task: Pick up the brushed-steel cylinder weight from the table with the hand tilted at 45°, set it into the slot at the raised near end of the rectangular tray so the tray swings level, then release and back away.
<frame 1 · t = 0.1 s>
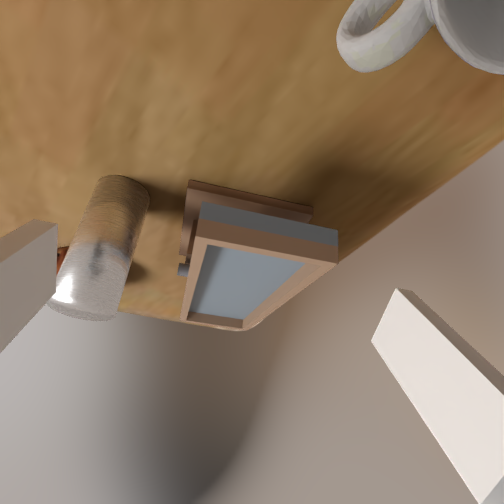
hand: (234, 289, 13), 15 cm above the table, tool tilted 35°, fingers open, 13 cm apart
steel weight: (123, 193, 32), on the table
fulcrum: (239, 229, 35), on the table
rectangular tray: (233, 287, 32), point 7 cm above the table, hinge at 8.0°
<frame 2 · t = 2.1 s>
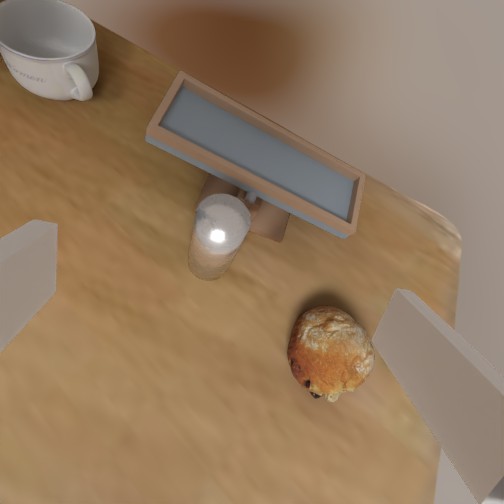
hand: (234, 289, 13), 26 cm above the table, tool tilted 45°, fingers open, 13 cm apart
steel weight: (208, 261, 40), on the table
bread roll: (322, 353, 40), on the table
teacup: (67, 91, 44), on the table
fulcrum: (250, 190, 45), on the table
rectangular tray: (265, 161, 39), point 7 cm above the table, hinge at 8.0°
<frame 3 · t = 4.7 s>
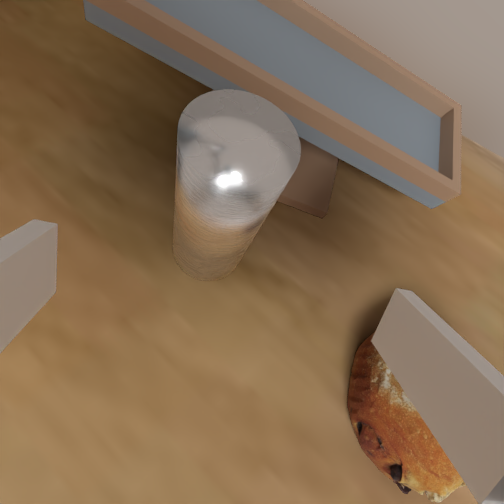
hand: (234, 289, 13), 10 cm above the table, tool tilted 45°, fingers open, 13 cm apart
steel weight: (207, 247, 24), on the table
bread roll: (402, 402, 23), on the table
fulcrum: (272, 138, 29), on the table
rectangular tray: (303, 73, 23), point 7 cm above the table, hinge at 8.0°
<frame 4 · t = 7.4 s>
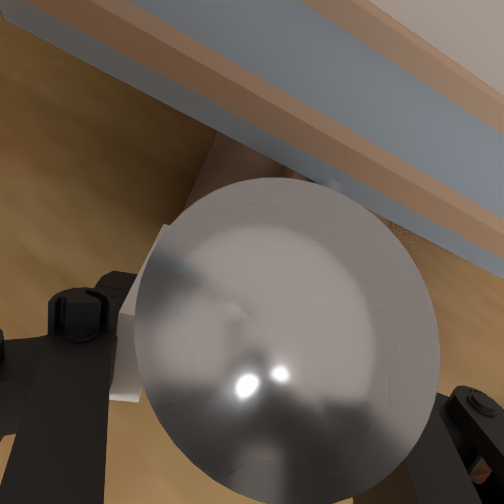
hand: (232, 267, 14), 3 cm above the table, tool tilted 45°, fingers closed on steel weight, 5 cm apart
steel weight: (210, 359, 16), on the table, touching gripper
fulcrum: (299, 183, 21), on the table
rectangular tray: (357, 102, 15), point 7 cm above the table, hinge at 8.0°
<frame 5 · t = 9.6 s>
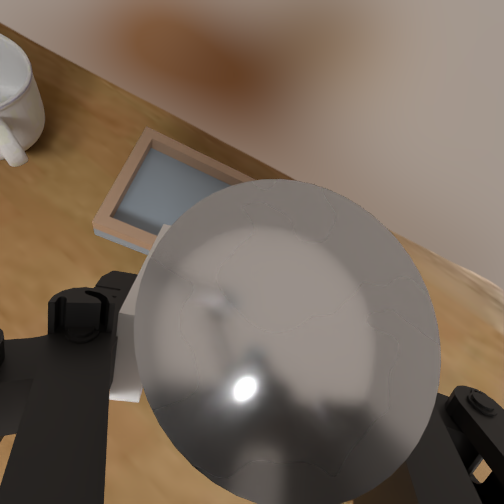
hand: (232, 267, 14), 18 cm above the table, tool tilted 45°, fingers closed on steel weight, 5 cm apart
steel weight: (210, 359, 16), point 15 cm above the table, touching gripper
teacup: (4, 145, 33), on the table
rectangular tray: (270, 246, 28), point 7 cm above the table, hinge at 8.0°
when the fingers open (13 cm above the table, at t = 11.9 s): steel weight drops 2 cm, resting on rectangular tray.
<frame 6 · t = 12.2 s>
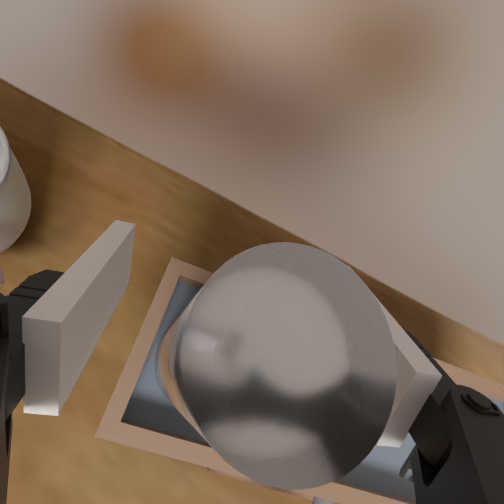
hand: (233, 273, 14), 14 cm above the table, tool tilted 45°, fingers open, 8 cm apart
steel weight: (202, 361, 18), point 8 cm above the table, tilted 5°, touching rectangular tray
fulcrum: (302, 401, 26), on the table
rectangular tray: (346, 408, 20), point 7 cm above the table, hinge at 4.6°, touching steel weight
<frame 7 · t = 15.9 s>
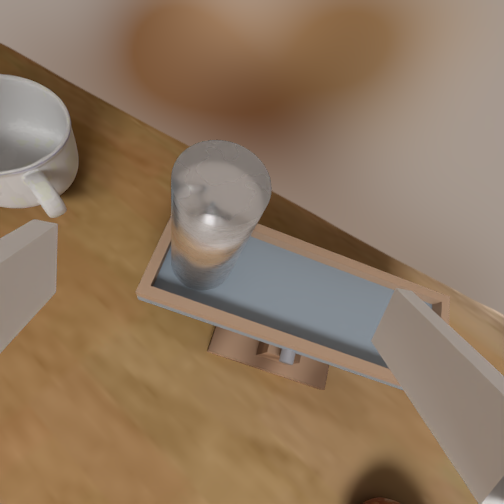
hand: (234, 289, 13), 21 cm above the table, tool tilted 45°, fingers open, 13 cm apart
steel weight: (202, 261, 27), point 7 cm above the table, touching rectangular tray
teacup: (37, 187, 33), on the table
fulcrum: (279, 313, 34), on the table
rectangular tray: (304, 298, 28), point 7 cm above the table, hinge at -0.4°, touching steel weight
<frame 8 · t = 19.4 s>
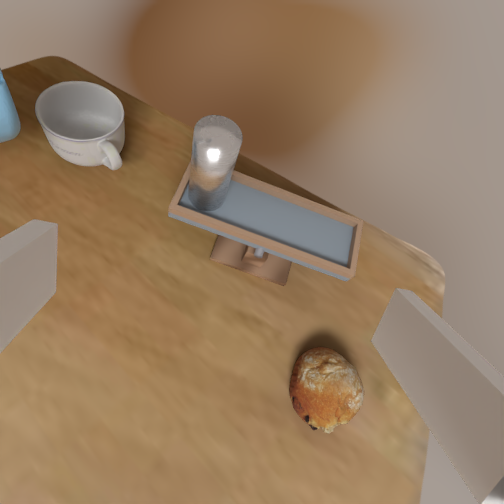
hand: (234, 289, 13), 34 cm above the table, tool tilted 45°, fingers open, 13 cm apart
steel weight: (206, 194, 44), point 7 cm above the table, touching rectangular tray
bread roll: (319, 388, 46), on the table
teacup: (96, 155, 51), on the table
fulcrum: (257, 239, 52), on the table
rectangular tray: (270, 219, 45), point 7 cm above the table, hinge at -0.4°, touching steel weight
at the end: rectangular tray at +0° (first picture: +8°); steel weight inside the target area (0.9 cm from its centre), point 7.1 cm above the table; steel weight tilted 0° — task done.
